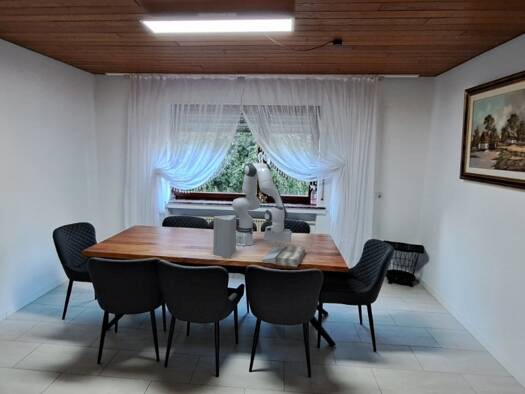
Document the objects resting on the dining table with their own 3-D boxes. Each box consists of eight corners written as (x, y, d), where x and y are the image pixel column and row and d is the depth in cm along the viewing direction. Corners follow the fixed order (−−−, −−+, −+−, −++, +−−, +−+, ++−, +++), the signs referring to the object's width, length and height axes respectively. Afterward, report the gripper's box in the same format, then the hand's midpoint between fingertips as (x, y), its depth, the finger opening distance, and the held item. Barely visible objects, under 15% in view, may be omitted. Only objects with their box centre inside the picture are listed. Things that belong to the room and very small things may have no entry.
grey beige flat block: (276, 264, 251) (276, 257, 250) (286, 251, 285) (286, 245, 285) (297, 266, 247) (297, 259, 247) (304, 253, 282) (305, 246, 281)
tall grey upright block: (217, 250, 284) (217, 214, 281) (235, 251, 282) (236, 215, 278) (209, 256, 265) (210, 218, 262) (229, 258, 263) (230, 219, 260)
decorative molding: (262, 266, 256) (276, 264, 253) (261, 259, 256) (274, 257, 253) (275, 253, 288) (287, 251, 285) (274, 248, 288) (286, 245, 285)
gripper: (292, 228, 267) (291, 247, 269) (265, 226, 272) (264, 244, 274) (291, 230, 261) (290, 249, 263) (263, 228, 266) (262, 246, 268)
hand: (277, 246), depth 268 cm, fingers closed
